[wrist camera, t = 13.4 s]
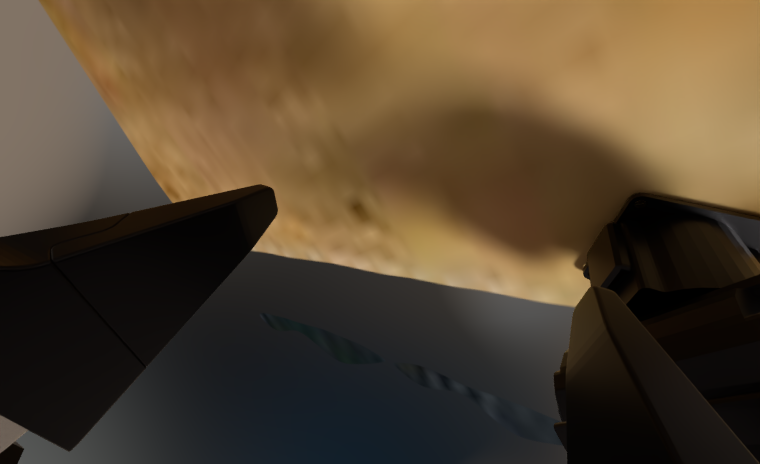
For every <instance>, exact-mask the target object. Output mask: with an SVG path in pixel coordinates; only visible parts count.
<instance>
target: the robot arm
mask: <svg viewBox="0 0 760 464" xmlns="http://www.w3.org/2000/svg"><path fill="white" fill-rule="evenodd" d="M639 200H644V201H645V202H644V203H643V204H640V205H636V204H635V203H636V202H637V201H639ZM277 212H278V208H277V203H276V198H275V194H274V190H273V189H272V188H271V187H268V186H265V185H261V184H259V185H254V186H250V187H245V188H240V189H236V190H231V191H227V192H222V193H218V194H213V195H208V196H204V197H199V198H195V199H190V200H186V201H181V202H176V203H172V204H167V205H163V206H158V207H154V208H149V209H144V210H140V211H135V212H132V213H126V214H121V215H117V216H112V217H107V218H102V219H98V220H93V221H88V222H83V223H77V224H73V225H67V226H61V227H55V228H50V229H44V230H38V231H33V232H27V233H21V234H16V235H10V236H5V237H0V464H18V461H19V459H20V457H21V455H22V452H23V450H24V448H22V446H20V445H19V444H18V443H17V442H16V440H17V439H18V438H19V437H21V436H22V435H23V434H24V433H25V432H27V431H28V430H29V431H31V432H33V433H35V434H37V435H38V436H40V437H42V438H44V439H46V440H48V441H50V442H52V443H53V444H56V445H57V446H59V447H61V448H63V449H65V450H66V451H68V452H69V451H71V450H72V449H73V448H74V447H75V446H76V445H77V444H78V443H79V442H80V441H81V440H82V439H83V438H84V437H85V436H86V435H87V434H88V432H89V431H90V430H91V429H92V428H93V427H94V426H95V425H96V423H97V422H98V421H99V420H100V419H101V418H102V417H103V415H105V413H106V412H107V411H108V410H109V409H110V408H111V407H112V406H113V405H114V403H115V402H116V401H117V400H118V399H119V398H120V397H121V396H122V394H123V393H124V392H125V391H126V390H127V389H128V388H129V387H130V386H131V384H132V383H133V382H134V381H135V380H136V379H137V378H138V377H139V375H140V374H141V373H142V372H143V371H144V370H145V369H146V366H148V365H149V364H150V363H151V362H152V360H153V359H154V358H155V357H156V356H157V355H158V354H159V352H161V351H162V349H163V348H164V347H165V346H166V345H167V344H168V343H169V342H170V340H171V339H172V338H173V337H174V336H175V335H176V334H177V333H178V332H179V331H180V329H181V328H182V327H183V326H184V325H185V324H186V323H187V322H188V320H189V319H190V318H191V317H192V316H193V315H194V314H195V312H196V311H197V310H198V309H199V308H200V307H201V306H202V305H203V304H204V303H205V301H206V300H207V299H208V298H209V297H210V296H211V295H212V294H213V293H214V291H215V290H216V289H217V288H218V287H219V286H220V285H221V284H222V283H223V281H224V280H225V279H226V278H227V277H228V276H229V275H230V274H231V273H232V271H233V270H234V269H235V268H236V267H237V266H238V265H239V264H240V262H241V261H242V260H243V259H244V258H245V257H246V256H247V255H248V253H249V252H250V251H251V250H252V248H253V247H254V246H255V244H256V243H257V242H258V240H259V239H260V238H261V236H262V235H263V234H264V232H265V231H266V229H267V228H268V227H269V225H270V224H271V223H272V221H273V220H274V218H275V217H276V215H277ZM587 258H588V262H587V263H586V265H585V266H584V268H583V275H584V277H585V278H587V279H589V280H590V283H591V287H590V288H589V289H588V290H587V292H586V293H585V295H584V296H583V297H582V299H581V300H580V302H579V303H578V304H577V306H576V307H575V310H574V312H573V317H572V325H571V333H570V342H569V349H568V350H567V351H566V352H565V353H564V355H563V359H562V363H561V367H560V371H556V372H555V373H554V390H555V397H556V401H557V405H558V411H559V414H560V417H561V420H562V422H558V423H555V424H554V429H555V431H556V433H557V435H558V437H559V439H560V440H561V442H562V444H563V446H564V448H565V449H566V451H567V464H760V217H755V216H751V215H746V214H741V213H736V212H732V211H727V210H722V209H717V208H713V207H708V206H703V205H699V204H694V203H689V202H684V201H680V200H675V199H670V198H666V197H661V196H656V195H651V194H647V193H636V194H634V195H632V196H631V197H630V198H629V199H628V200H627V202H626V203H625V205H624V206H623V208H622V209H621V211H620V213H619V214H618V216H617V217H616V219H615V220H614V222H613V223H612V222H611V223H609V224H607V225H605V227H604V228H603V230H602V232H601V233H600V235H599V236H598V238H597V239H596V241H595V243H594V244H593V246H592V247H591V249H590V250H589V252H588V254H587Z"/></svg>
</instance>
